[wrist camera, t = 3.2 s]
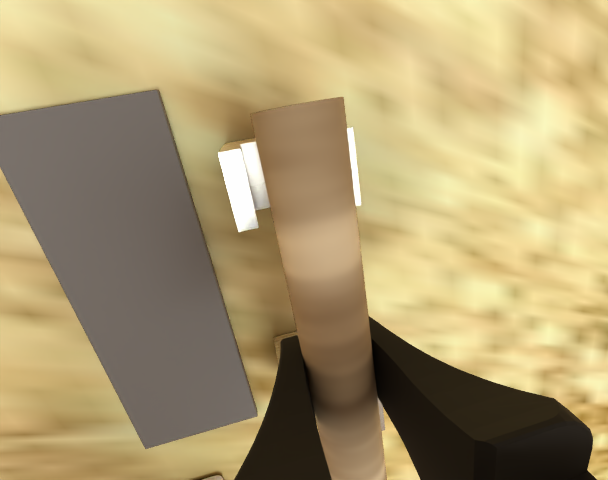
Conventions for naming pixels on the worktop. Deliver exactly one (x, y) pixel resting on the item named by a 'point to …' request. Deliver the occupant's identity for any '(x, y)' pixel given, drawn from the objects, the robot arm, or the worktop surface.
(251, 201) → the hook stands
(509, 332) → the worktop surface
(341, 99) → the rail
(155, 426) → the mat
